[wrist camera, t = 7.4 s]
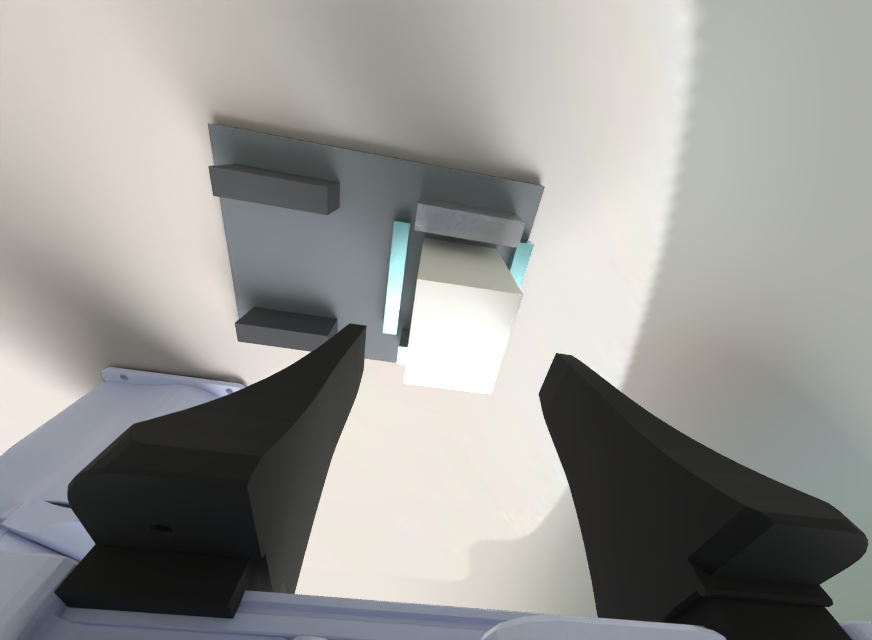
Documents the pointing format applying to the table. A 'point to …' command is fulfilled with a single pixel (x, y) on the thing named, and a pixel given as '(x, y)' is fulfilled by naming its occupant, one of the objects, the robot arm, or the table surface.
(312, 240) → the panel
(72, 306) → the table surface
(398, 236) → the port
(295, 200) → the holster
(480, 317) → the plug
